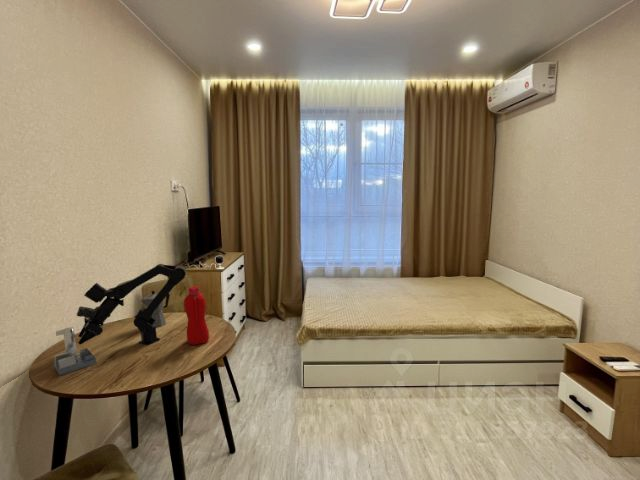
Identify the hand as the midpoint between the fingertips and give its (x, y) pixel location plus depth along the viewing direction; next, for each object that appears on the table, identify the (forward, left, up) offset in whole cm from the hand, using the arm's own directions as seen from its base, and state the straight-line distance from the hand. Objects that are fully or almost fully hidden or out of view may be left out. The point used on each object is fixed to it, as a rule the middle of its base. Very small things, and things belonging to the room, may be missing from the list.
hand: (79, 340), depth 146 cm
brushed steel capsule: (+2, +4, -6) cm, 8 cm away
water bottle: (-38, -28, -6) cm, 48 cm away
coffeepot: (-1, -37, -6) cm, 38 cm away
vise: (-8, +7, -6) cm, 13 cm away
